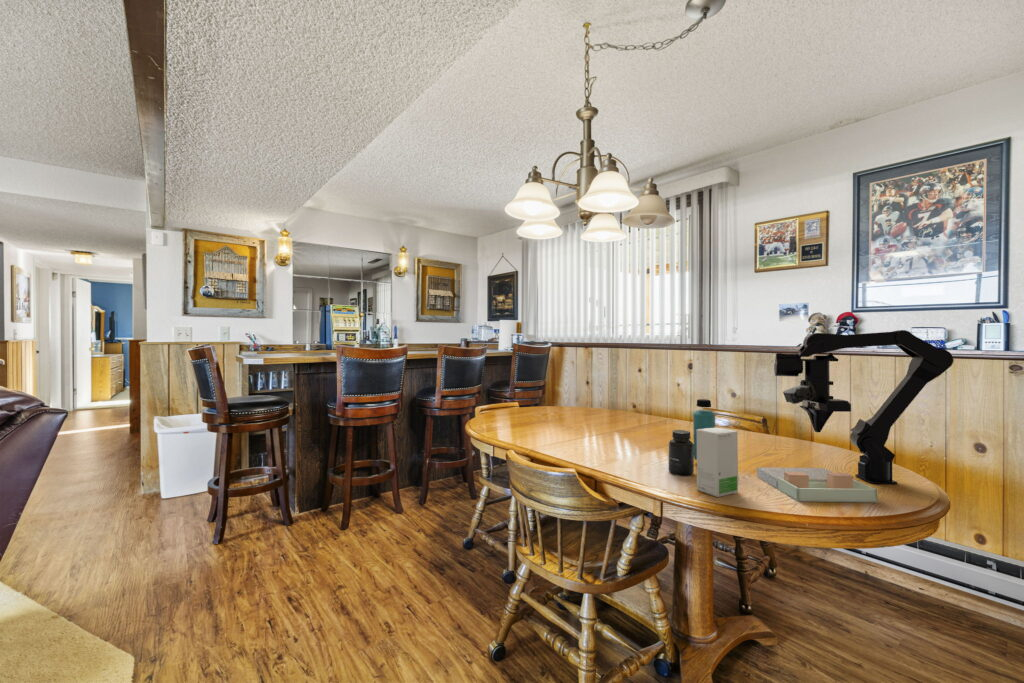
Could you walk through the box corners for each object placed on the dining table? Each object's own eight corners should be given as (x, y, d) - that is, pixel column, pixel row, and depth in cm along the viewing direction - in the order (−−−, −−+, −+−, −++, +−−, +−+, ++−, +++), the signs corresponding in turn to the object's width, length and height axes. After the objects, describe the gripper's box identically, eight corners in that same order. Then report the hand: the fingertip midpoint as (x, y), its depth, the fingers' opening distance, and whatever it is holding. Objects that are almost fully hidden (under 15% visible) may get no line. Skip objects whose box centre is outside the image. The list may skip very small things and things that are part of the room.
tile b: (803, 472, 108) (808, 475, 106) (803, 490, 108) (808, 493, 106) (784, 471, 109) (788, 474, 107) (784, 489, 109) (788, 492, 107)
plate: (823, 476, 120) (823, 468, 120) (849, 489, 110) (849, 479, 110) (756, 476, 121) (756, 467, 121) (776, 488, 111) (776, 478, 111)
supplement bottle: (668, 474, 123) (667, 432, 123) (669, 468, 129) (668, 428, 129) (694, 477, 120) (693, 434, 120) (693, 470, 127) (693, 429, 127)
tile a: (846, 472, 108) (853, 476, 105) (846, 490, 108) (853, 494, 105) (826, 472, 108) (833, 475, 106) (827, 490, 108) (833, 493, 106)
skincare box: (717, 498, 105) (717, 434, 105) (694, 489, 111) (694, 429, 110) (739, 492, 109) (739, 430, 108) (716, 484, 114) (716, 425, 114)
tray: (850, 489, 110) (850, 477, 110) (877, 502, 101) (877, 489, 101) (777, 488, 111) (777, 477, 111) (797, 501, 102) (797, 488, 102)
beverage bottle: (718, 467, 129) (718, 401, 129) (695, 466, 131) (694, 400, 131) (713, 461, 136) (712, 398, 136) (690, 460, 137) (690, 397, 137)
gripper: (769, 374, 132) (770, 425, 132) (808, 380, 114) (808, 439, 114) (807, 374, 132) (807, 425, 132) (852, 380, 113) (852, 439, 113)
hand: (817, 432), depth 122 cm, fingers closed
